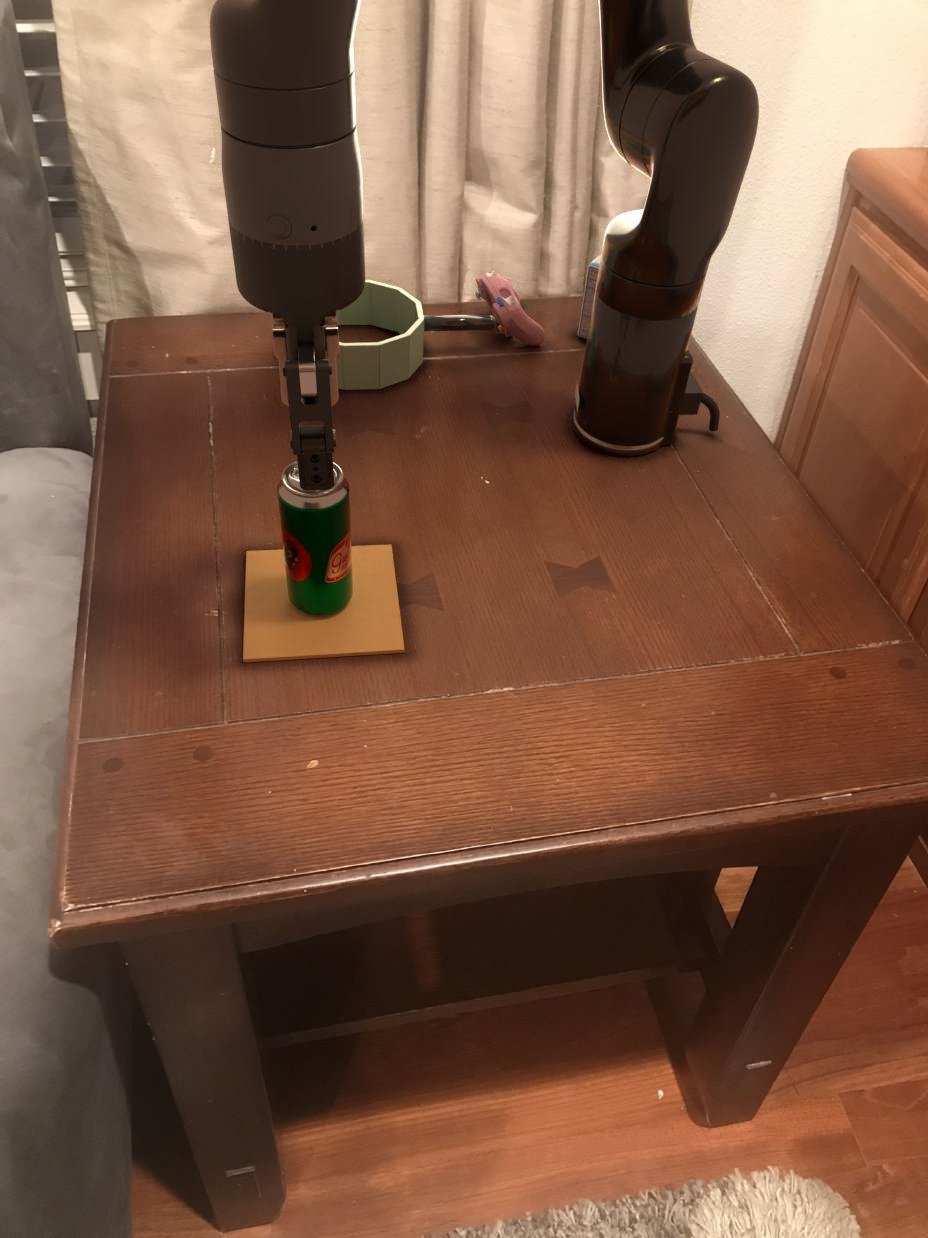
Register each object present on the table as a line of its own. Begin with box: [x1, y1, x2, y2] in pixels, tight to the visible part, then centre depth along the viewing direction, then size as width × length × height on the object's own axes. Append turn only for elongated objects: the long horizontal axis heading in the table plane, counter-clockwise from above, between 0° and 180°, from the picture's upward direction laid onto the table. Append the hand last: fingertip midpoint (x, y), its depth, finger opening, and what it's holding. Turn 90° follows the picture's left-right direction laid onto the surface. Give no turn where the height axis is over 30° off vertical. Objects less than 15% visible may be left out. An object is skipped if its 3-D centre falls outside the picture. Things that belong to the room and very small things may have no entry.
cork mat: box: [242, 543, 405, 664], centre depth 75 cm, size 12×12×1 cm
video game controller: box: [474, 269, 546, 347], centre depth 105 cm, size 10×5×7 cm, turn 17°
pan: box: [336, 279, 498, 391], centre depth 100 cm, size 22×14×5 cm, turn 98°
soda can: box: [276, 460, 353, 616], centre depth 71 cm, size 5×5×12 cm
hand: (315, 447), depth 65 cm, fingers open, 8 cm apart
